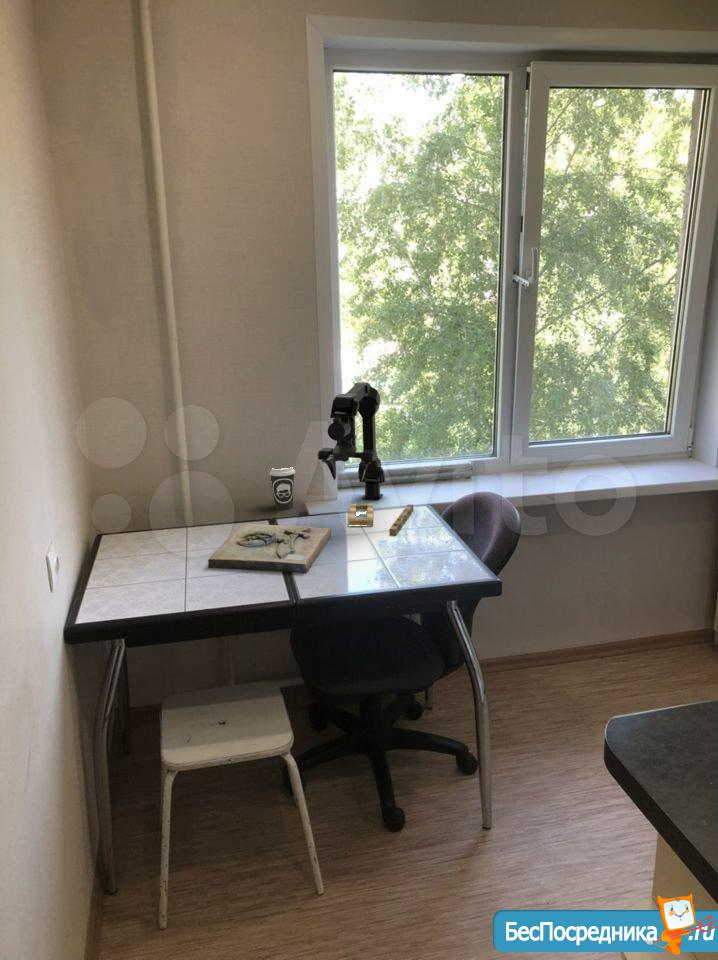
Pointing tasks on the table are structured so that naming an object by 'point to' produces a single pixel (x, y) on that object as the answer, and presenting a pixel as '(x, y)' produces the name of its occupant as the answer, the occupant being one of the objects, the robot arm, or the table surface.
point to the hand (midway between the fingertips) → (348, 480)
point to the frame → (362, 518)
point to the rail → (401, 520)
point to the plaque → (271, 548)
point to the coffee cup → (283, 487)
